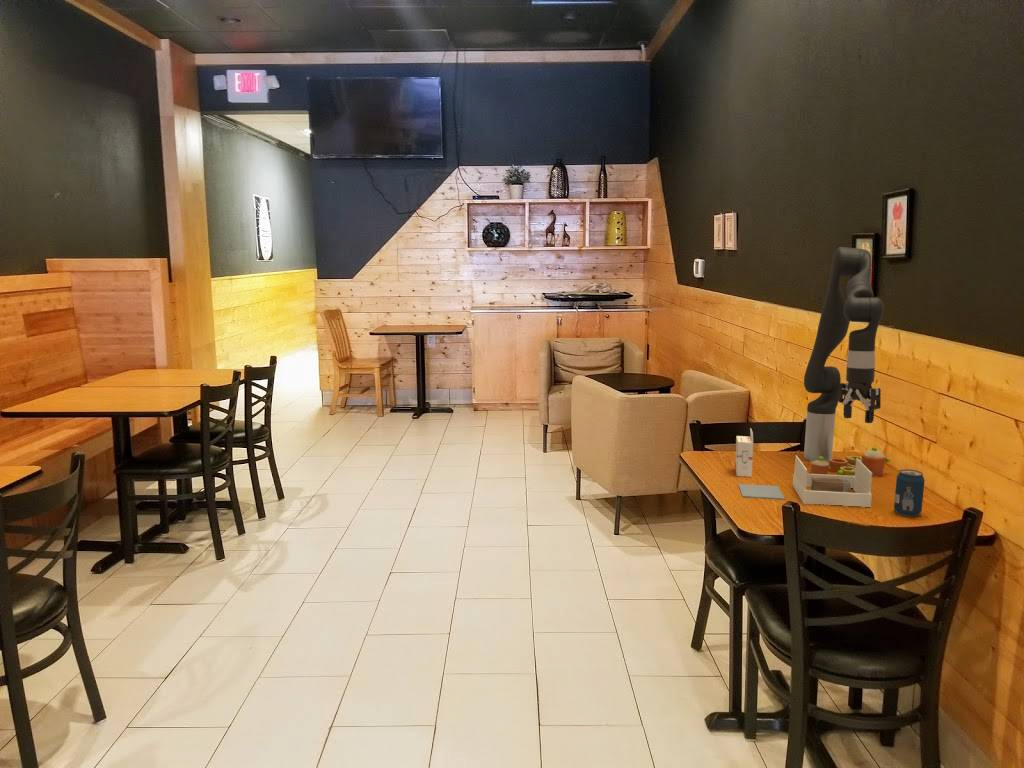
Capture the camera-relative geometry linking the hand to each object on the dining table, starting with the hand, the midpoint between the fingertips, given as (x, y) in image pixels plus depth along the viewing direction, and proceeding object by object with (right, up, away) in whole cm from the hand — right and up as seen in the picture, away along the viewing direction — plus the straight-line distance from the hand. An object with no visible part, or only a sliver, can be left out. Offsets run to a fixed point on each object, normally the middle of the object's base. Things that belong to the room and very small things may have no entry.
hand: (857, 420), depth 222 cm
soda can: (+9, -26, -11) cm, 29 cm away
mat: (-26, -22, +8) cm, 35 cm away
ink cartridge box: (-26, -19, +28) cm, 42 cm away
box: (-7, -23, +4) cm, 24 cm away
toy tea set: (+9, -20, +27) cm, 34 cm away
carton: (-7, -23, +4) cm, 24 cm away
